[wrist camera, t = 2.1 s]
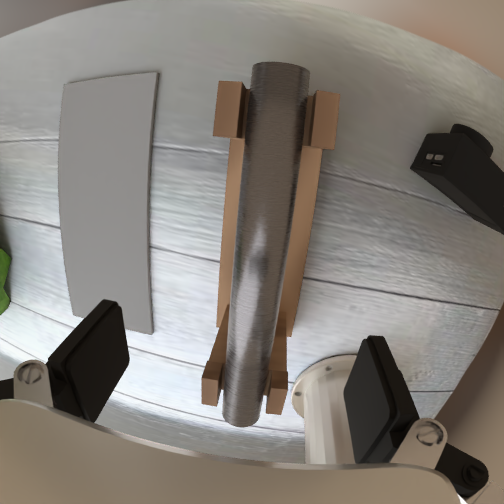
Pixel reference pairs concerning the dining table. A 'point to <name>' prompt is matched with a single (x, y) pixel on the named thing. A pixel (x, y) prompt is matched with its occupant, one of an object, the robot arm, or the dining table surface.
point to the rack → (314, 140)
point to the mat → (107, 193)
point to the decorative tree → (0, 271)
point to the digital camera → (464, 173)
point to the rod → (263, 231)
